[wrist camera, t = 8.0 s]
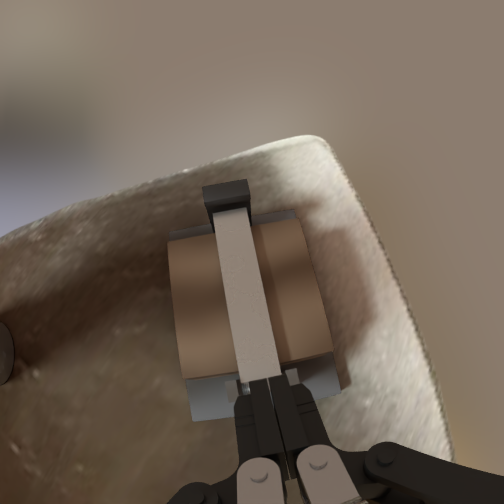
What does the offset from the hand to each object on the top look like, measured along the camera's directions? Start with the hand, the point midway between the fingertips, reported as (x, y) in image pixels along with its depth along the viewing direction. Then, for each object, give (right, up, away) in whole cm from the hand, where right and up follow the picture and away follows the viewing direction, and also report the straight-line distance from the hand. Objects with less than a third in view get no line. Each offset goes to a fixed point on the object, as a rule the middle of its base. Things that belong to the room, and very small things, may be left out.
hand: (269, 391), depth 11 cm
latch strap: (-1, +2, +13) cm, 13 cm away
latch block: (-1, -1, +19) cm, 19 cm away
